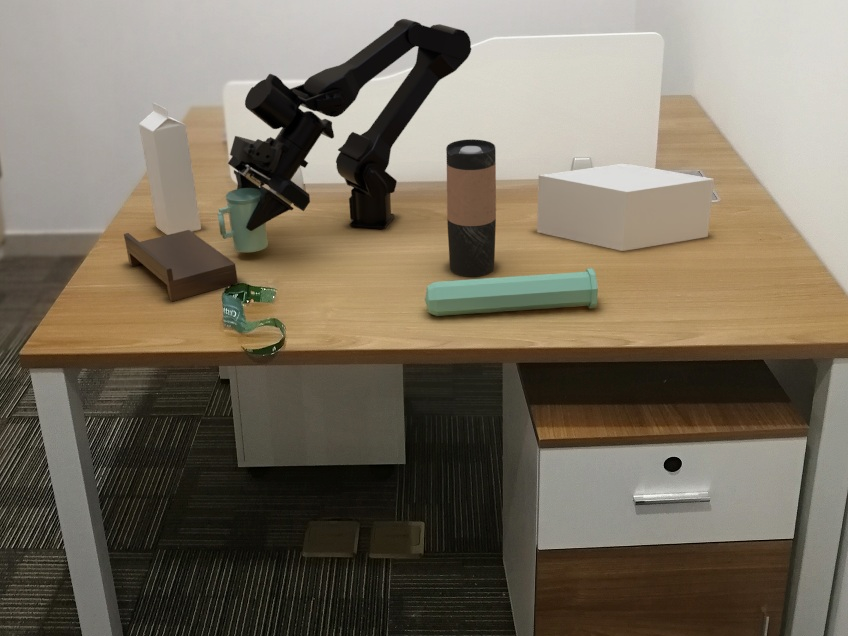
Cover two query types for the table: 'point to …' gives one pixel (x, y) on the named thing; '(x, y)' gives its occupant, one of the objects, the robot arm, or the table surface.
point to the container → (512, 293)
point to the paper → (624, 206)
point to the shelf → (182, 263)
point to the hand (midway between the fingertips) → (239, 224)
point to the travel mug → (471, 206)
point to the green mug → (243, 220)
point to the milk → (169, 172)
